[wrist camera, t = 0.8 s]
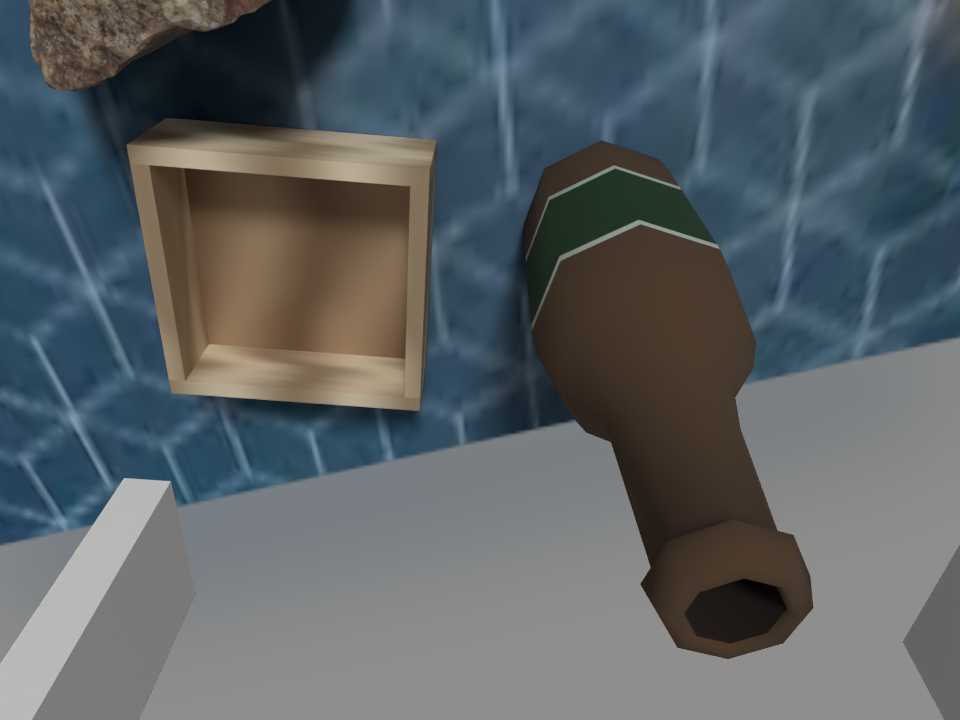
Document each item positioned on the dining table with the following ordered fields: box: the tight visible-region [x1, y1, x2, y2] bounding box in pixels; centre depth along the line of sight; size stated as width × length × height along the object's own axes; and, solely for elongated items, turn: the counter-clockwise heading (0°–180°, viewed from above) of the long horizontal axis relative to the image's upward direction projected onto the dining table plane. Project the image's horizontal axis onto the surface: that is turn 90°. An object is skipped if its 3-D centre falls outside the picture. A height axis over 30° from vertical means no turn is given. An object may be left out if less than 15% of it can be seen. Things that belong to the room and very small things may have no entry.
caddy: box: [126, 118, 437, 411], centre depth 36 cm, size 13×13×4 cm
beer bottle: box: [524, 141, 813, 659], centre depth 26 cm, size 8×8×24 cm
